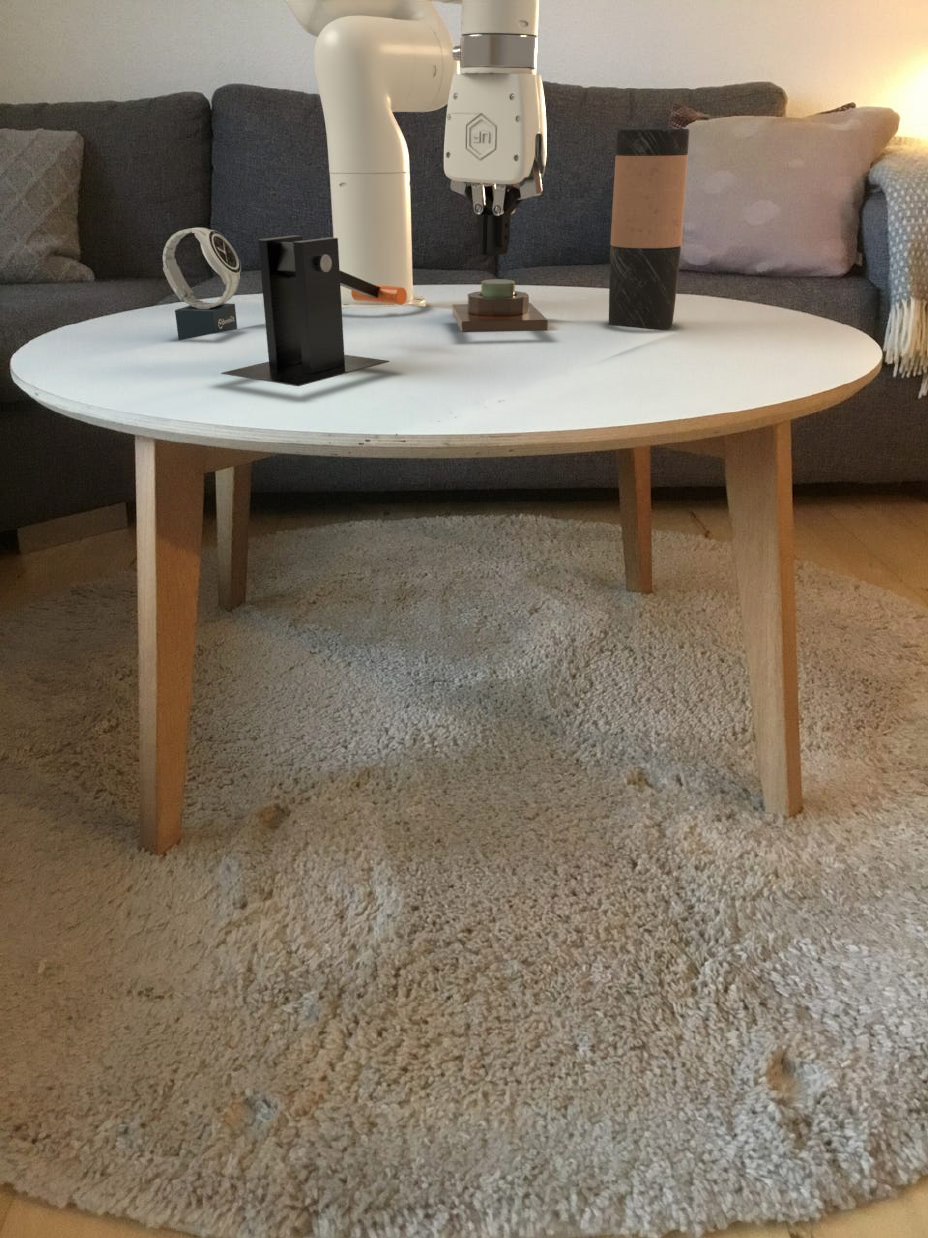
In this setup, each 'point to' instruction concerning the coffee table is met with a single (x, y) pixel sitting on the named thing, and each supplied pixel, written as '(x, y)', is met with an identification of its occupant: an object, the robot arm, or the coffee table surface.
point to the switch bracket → (303, 315)
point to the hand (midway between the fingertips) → (493, 253)
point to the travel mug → (647, 226)
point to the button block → (498, 314)
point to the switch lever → (347, 281)
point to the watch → (198, 314)
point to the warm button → (498, 288)
